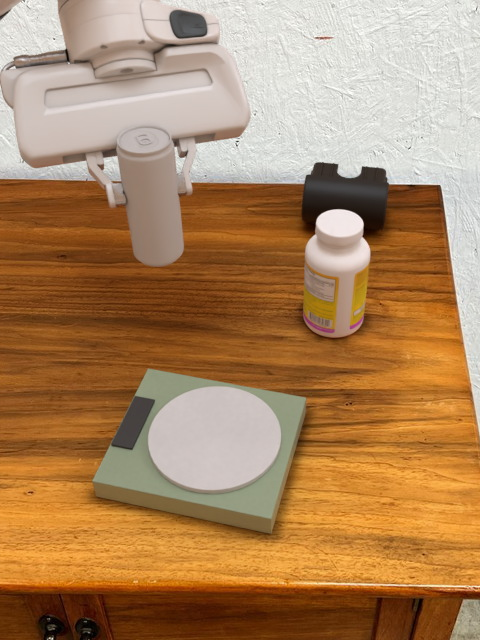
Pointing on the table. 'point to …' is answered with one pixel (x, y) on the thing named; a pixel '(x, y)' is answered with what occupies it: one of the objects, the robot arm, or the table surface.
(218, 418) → the scale
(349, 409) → the table surface
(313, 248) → the supplement bottle
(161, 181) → the beverage can
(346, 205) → the black notched block
